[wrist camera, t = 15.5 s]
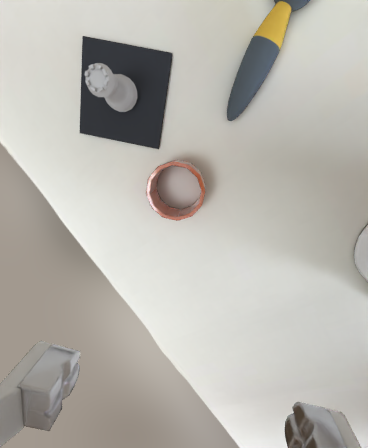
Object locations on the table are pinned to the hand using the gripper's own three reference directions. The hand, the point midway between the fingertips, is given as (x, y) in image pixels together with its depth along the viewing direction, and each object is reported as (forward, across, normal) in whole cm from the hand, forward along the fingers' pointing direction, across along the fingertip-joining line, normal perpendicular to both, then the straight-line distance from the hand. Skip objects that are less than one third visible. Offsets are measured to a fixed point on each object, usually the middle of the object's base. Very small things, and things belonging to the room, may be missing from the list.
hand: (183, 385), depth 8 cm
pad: (+29, -14, +13) cm, 35 cm away
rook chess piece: (+28, -14, +13) cm, 34 cm away
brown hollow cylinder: (+29, -4, +2) cm, 29 cm away
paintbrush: (+29, +4, +22) cm, 37 cm away
